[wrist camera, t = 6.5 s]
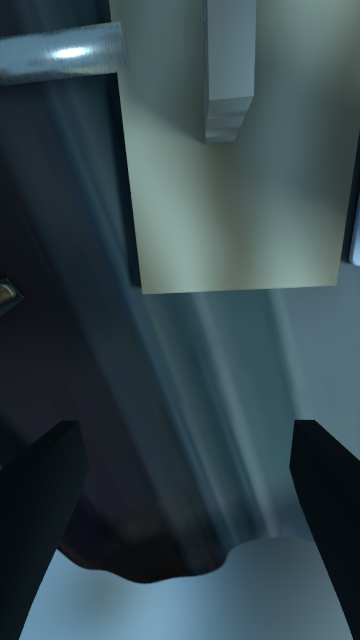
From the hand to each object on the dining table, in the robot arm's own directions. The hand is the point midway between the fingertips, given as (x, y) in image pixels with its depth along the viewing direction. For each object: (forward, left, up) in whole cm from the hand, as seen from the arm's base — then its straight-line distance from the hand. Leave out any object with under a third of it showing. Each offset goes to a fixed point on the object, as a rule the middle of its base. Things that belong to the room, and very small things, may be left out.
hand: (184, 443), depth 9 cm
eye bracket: (-2, -14, -10) cm, 18 cm away
